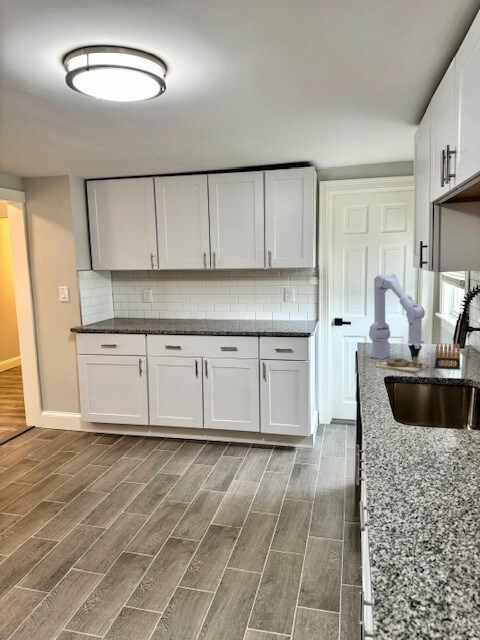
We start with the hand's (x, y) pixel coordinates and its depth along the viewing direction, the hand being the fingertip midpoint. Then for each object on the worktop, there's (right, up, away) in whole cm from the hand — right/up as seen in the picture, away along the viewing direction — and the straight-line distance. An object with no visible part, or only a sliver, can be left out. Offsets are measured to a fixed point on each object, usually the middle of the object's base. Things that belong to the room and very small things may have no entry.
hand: (414, 360), depth 211 cm
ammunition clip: (+14, -4, -4) cm, 15 cm away
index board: (-5, -3, +2) cm, 6 cm away
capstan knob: (-5, -2, +2) cm, 6 cm away
